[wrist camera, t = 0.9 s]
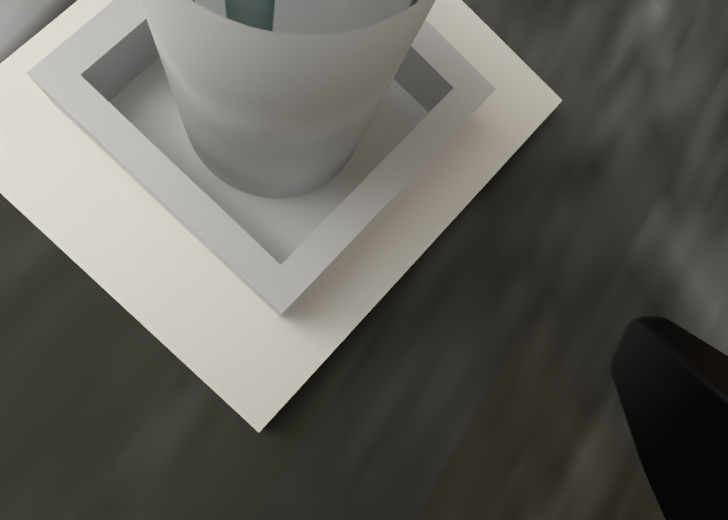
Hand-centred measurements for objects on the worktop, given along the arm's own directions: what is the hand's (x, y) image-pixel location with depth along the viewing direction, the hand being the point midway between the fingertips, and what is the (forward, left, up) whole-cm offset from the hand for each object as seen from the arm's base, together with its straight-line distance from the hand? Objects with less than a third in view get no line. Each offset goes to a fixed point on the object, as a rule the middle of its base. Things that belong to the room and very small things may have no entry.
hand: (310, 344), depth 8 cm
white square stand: (+5, +5, -13) cm, 15 cm away
